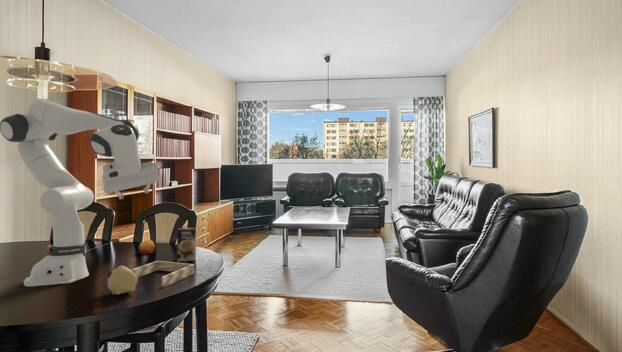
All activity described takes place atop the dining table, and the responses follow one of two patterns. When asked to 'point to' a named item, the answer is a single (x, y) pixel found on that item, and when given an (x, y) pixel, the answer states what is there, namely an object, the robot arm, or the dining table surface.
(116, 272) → the yellow animal toy
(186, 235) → the coffee box
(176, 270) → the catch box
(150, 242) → the fruit
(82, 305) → the dining table surface
